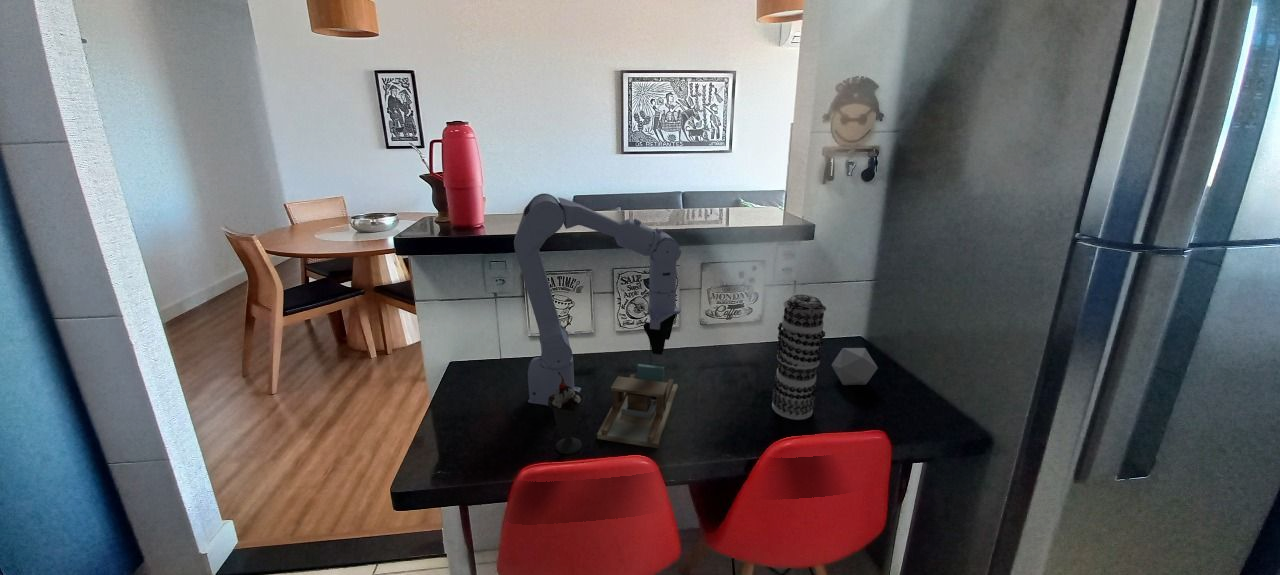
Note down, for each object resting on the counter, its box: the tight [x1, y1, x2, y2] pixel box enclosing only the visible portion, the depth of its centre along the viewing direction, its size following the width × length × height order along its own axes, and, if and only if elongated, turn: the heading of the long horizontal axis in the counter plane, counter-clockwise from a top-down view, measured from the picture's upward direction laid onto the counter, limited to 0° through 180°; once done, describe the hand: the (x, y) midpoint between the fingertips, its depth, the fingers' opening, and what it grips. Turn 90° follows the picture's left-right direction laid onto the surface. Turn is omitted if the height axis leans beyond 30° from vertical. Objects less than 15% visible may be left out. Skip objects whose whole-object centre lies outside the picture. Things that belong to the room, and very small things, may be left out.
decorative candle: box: [771, 294, 827, 421], centre depth 103 cm, size 9×9×25 cm
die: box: [831, 347, 879, 386], centre depth 116 cm, size 8×9×10 cm
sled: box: [621, 363, 665, 419], centre depth 108 cm, size 6×14×5 cm, turn 166°
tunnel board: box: [596, 373, 679, 449], centre depth 105 cm, size 12×22×7 cm, turn 166°
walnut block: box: [628, 393, 651, 412], centre depth 104 cm, size 4×4×4 cm
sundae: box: [547, 372, 586, 455], centre depth 92 cm, size 7×7×15 cm
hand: (661, 346), depth 113 cm, fingers open, 7 cm apart
